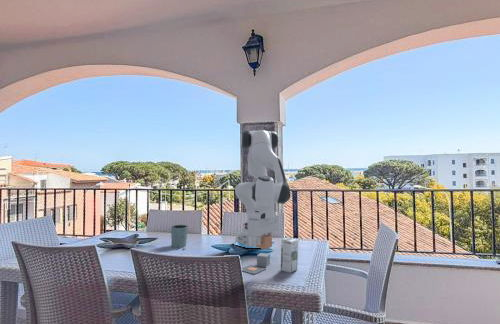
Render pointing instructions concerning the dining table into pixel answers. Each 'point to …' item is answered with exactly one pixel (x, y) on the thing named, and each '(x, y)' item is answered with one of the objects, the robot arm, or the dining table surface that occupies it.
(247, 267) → the board
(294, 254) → the syrup box
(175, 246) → the green cup
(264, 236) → the terracotta block
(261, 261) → the grey block
